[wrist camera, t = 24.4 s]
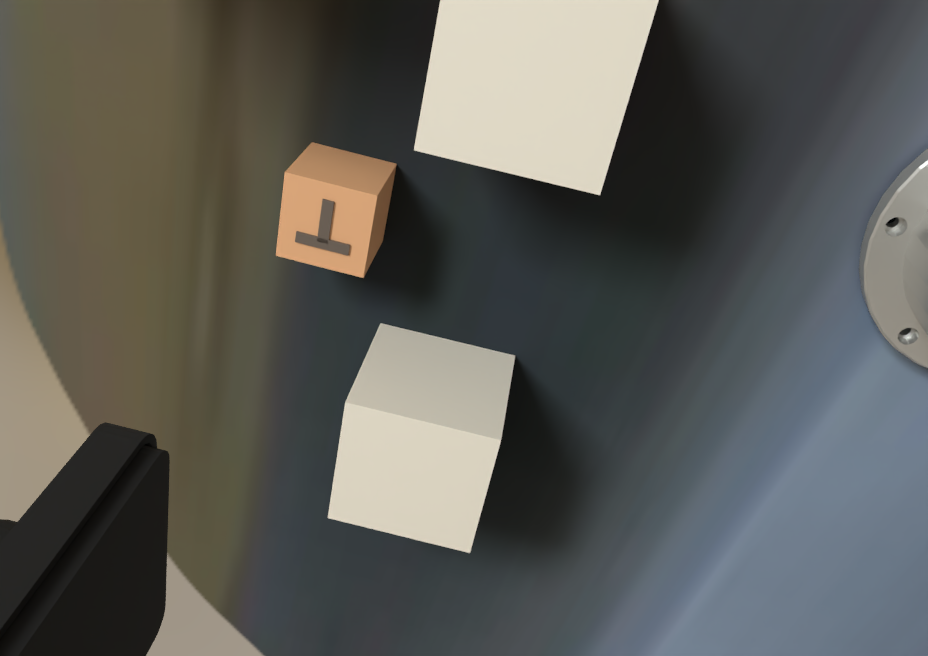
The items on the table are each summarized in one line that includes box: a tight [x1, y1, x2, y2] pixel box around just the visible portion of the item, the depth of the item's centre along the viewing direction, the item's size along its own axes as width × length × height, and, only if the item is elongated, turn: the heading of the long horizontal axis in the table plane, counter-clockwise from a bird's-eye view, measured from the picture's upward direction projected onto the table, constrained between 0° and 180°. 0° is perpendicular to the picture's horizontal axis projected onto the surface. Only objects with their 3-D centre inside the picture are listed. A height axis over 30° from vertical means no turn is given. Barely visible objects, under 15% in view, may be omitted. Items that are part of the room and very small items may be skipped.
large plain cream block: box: [414, 0, 659, 195], centre depth 33 cm, size 7×7×7 cm
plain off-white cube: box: [328, 323, 515, 553], centre depth 43 cm, size 7×7×7 cm
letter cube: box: [276, 142, 397, 278], centre depth 39 cm, size 4×4×4 cm
